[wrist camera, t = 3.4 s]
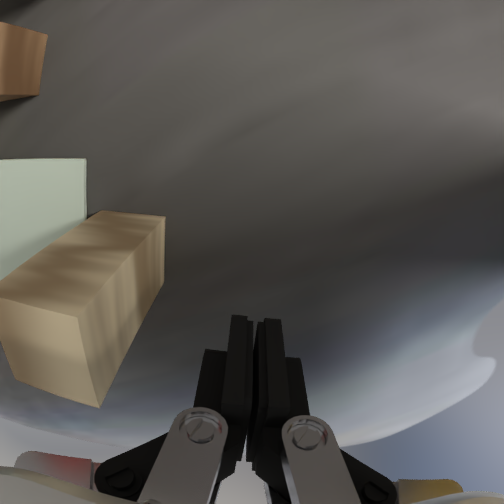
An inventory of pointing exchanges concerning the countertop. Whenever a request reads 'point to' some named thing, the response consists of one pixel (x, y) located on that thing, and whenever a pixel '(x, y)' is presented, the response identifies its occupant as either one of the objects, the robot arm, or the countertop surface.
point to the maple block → (82, 304)
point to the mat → (38, 205)
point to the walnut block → (20, 61)
